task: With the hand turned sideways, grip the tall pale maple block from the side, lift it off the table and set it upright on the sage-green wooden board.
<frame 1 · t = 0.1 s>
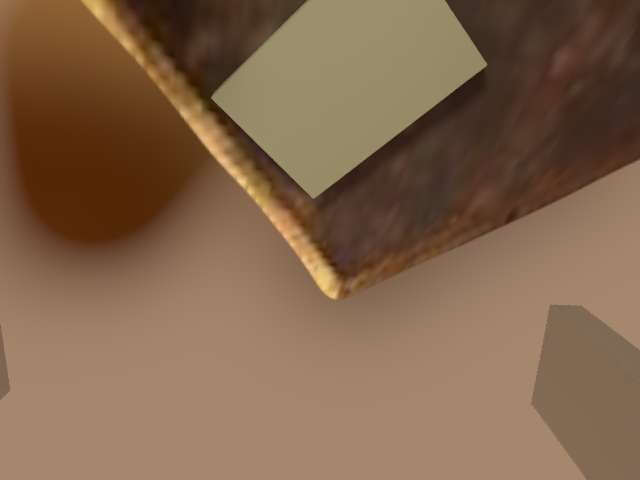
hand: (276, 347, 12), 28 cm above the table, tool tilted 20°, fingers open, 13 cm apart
sage board: (345, 75, 35), on the table
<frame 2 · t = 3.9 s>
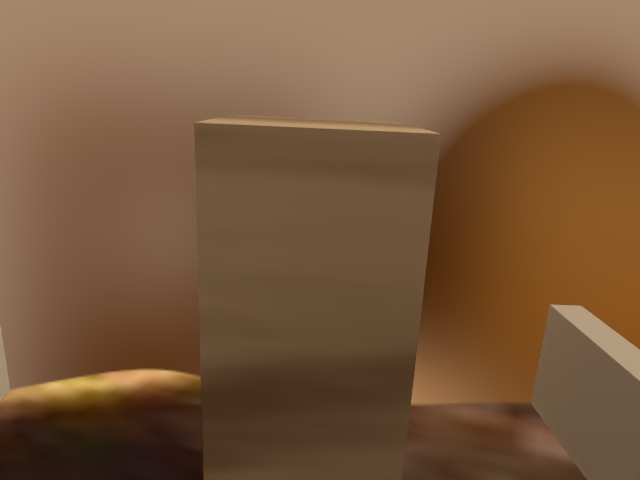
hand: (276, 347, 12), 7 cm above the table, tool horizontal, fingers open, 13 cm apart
maple block: (303, 454, 18), on the table
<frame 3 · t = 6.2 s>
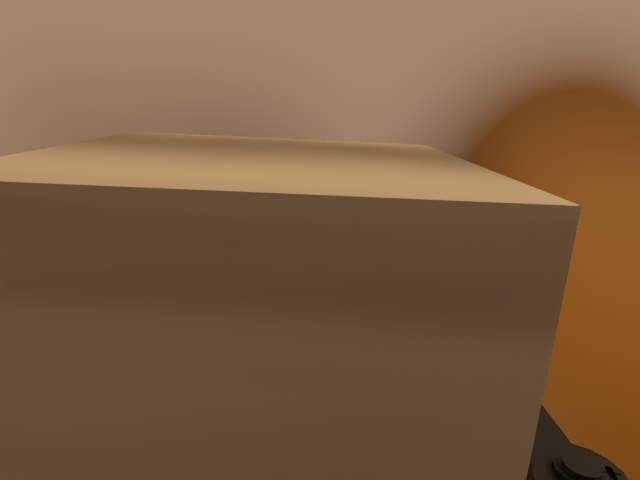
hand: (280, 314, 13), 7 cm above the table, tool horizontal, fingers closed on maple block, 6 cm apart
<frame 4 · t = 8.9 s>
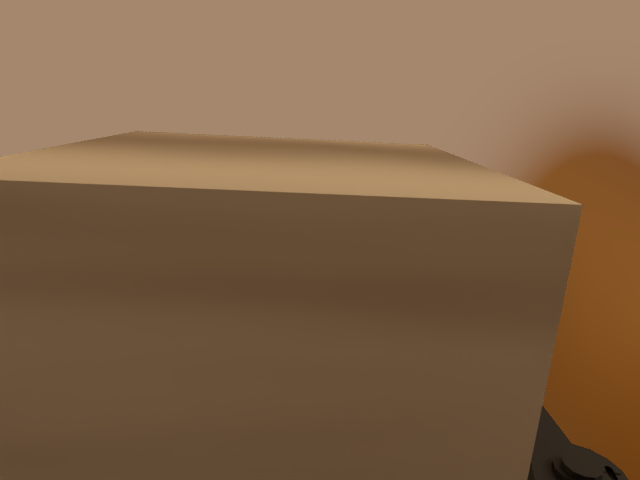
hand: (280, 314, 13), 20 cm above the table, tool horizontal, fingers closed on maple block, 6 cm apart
when the fingers open (10 cm above the table, at t = 12.1 s): maple block drops 1 cm, resting on sage board.
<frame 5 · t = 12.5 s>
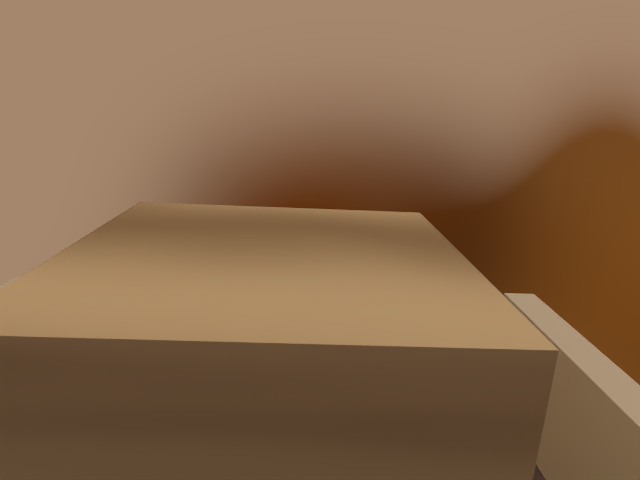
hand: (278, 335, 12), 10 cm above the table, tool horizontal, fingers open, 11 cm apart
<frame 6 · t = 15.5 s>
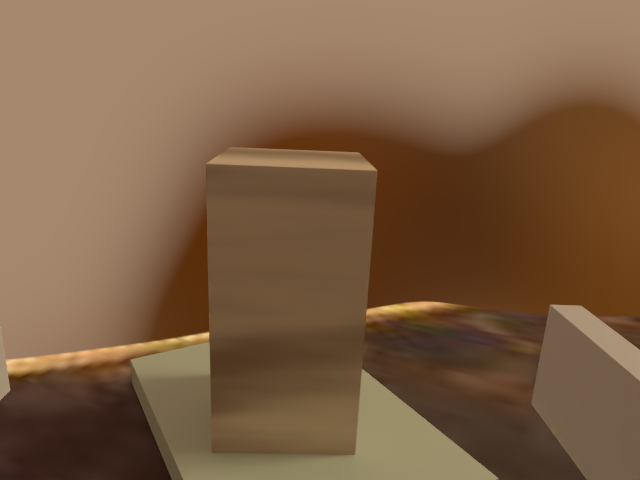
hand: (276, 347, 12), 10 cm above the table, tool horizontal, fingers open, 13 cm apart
sage board: (284, 436, 24), on the table
maple block: (286, 409, 23), point 1 cm above the table, touching sage board
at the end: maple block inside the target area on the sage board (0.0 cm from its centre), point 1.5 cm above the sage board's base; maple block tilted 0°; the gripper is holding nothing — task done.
